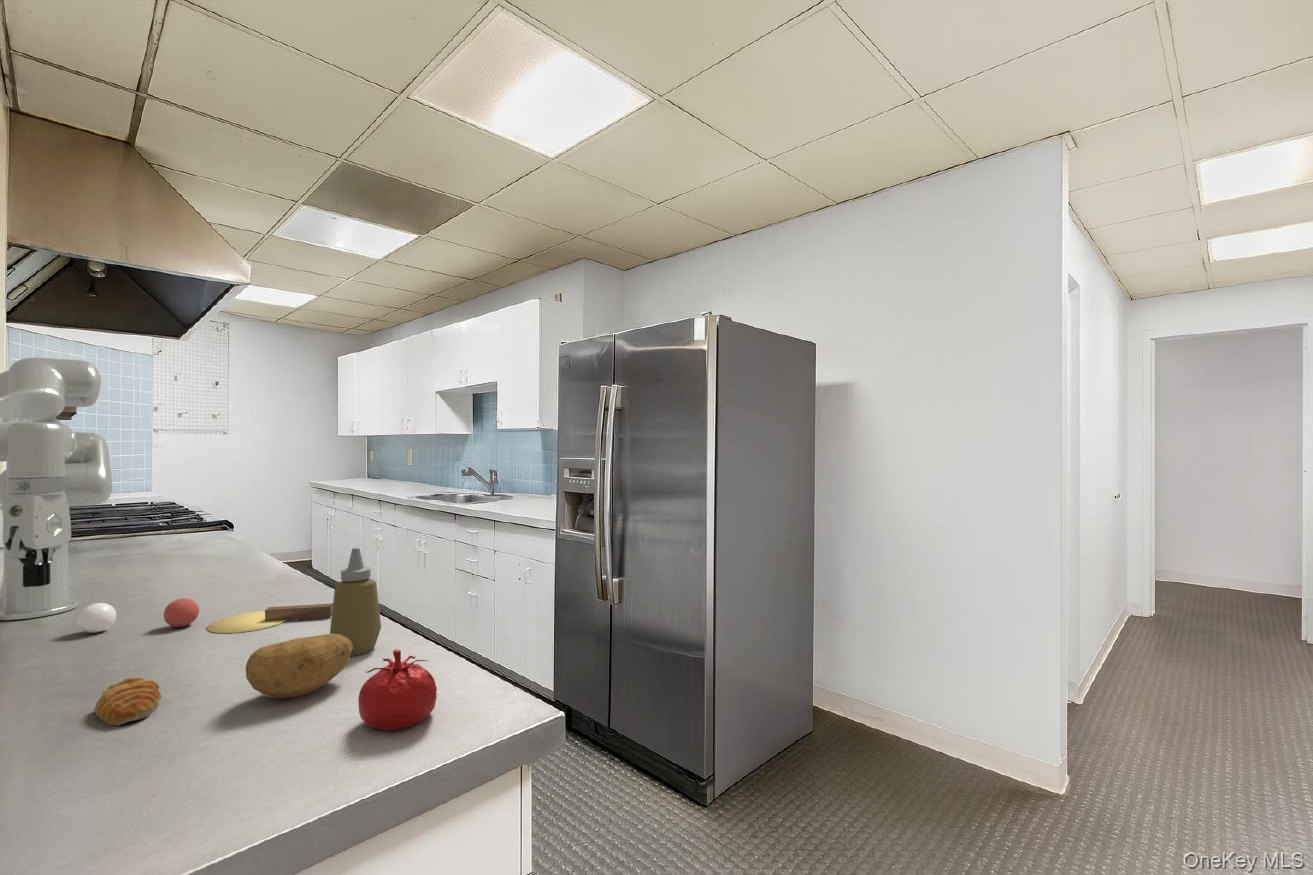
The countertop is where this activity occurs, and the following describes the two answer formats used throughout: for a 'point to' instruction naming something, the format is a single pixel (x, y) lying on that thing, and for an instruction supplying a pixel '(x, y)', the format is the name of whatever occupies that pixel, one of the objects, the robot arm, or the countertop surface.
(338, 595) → the squeeze bottle
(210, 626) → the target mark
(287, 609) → the rail
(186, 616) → the object ball
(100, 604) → the white egg
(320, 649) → the potato
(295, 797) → the countertop surface
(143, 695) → the pastry
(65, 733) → the countertop surface
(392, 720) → the red tomato
